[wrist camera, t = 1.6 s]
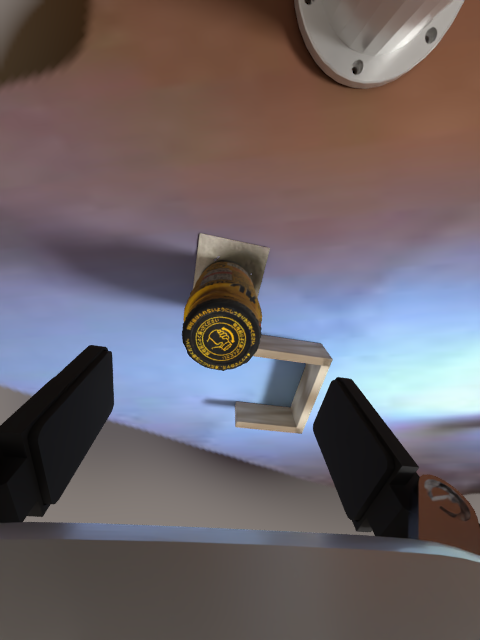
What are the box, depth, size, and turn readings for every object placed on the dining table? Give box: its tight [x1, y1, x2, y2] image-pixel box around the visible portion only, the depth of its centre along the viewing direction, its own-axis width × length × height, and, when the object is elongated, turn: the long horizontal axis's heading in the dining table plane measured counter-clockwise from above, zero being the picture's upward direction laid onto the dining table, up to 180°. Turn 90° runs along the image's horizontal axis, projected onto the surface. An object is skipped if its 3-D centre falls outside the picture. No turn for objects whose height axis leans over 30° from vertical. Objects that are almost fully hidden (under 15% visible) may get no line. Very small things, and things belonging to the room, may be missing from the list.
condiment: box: [182, 233, 270, 371], centre depth 20 cm, size 7×8×12 cm
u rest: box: [235, 335, 333, 434], centre depth 30 cm, size 12×9×4 cm
